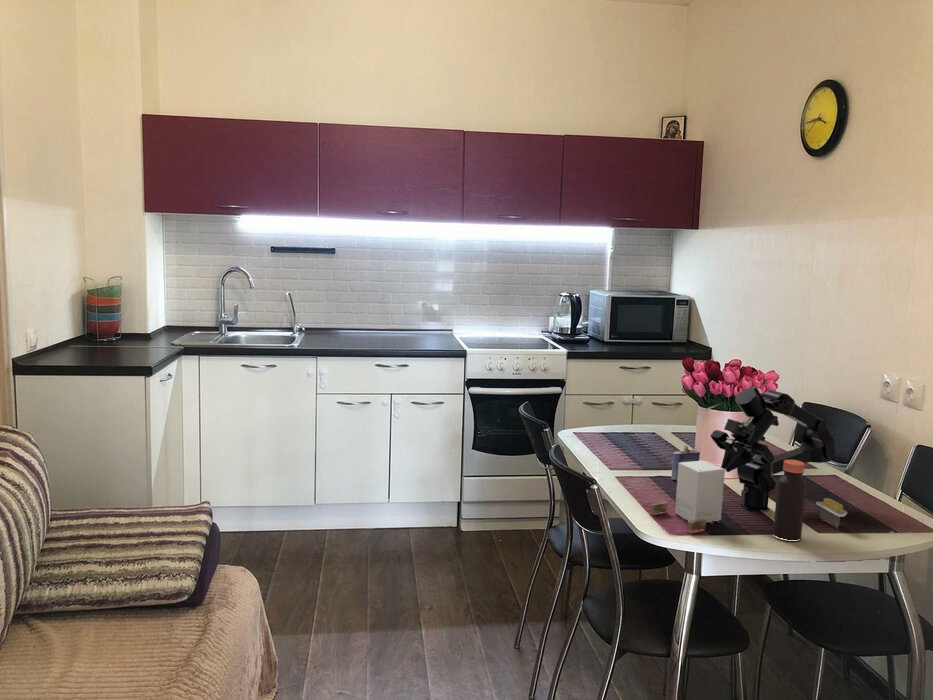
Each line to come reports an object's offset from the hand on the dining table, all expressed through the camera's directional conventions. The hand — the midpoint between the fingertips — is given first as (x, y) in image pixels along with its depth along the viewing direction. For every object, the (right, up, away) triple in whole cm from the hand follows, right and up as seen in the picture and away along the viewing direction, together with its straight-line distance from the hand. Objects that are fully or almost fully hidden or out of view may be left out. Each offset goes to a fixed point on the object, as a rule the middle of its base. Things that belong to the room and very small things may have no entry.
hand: (724, 470), depth 218 cm
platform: (+28, -15, -3) cm, 32 cm away
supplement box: (-8, -13, -2) cm, 15 cm away
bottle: (+12, -15, -13) cm, 24 cm away
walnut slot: (-15, -13, -6) cm, 20 cm away
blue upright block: (-2, -8, +32) cm, 33 cm away
